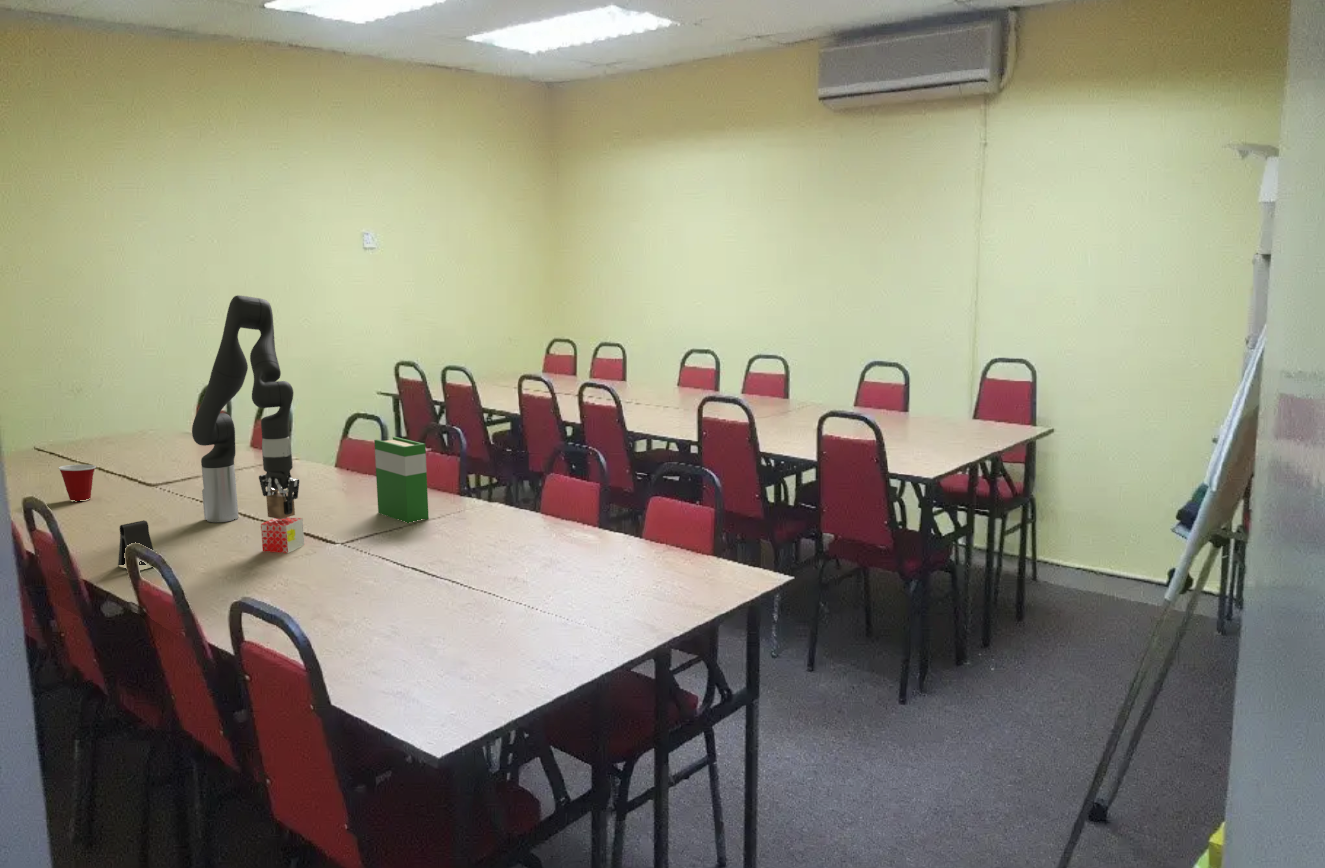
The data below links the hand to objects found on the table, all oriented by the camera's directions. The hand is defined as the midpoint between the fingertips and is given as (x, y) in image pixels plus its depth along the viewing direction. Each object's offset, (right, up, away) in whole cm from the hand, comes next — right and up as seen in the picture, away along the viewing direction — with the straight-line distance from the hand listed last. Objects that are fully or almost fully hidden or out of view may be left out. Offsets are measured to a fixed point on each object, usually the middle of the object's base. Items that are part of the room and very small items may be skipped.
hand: (281, 512), depth 263 cm
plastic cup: (-90, -1, +55) cm, 106 cm away
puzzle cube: (0, -10, +2) cm, 11 cm away
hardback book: (+24, -4, +36) cm, 43 cm away
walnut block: (0, -1, 0) cm, 1 cm away
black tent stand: (-32, -13, -15) cm, 38 cm away
